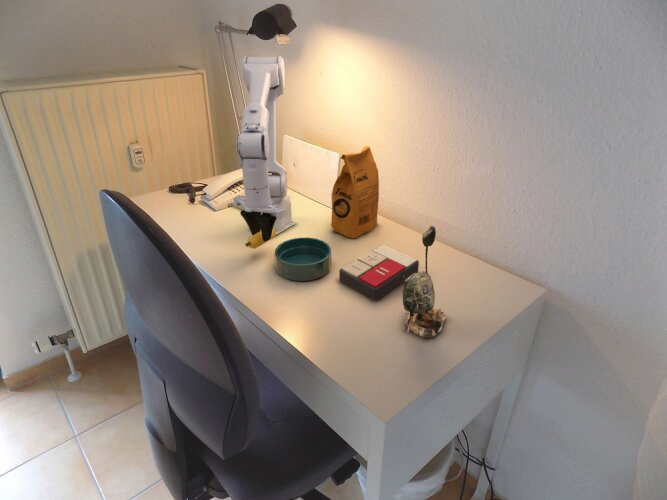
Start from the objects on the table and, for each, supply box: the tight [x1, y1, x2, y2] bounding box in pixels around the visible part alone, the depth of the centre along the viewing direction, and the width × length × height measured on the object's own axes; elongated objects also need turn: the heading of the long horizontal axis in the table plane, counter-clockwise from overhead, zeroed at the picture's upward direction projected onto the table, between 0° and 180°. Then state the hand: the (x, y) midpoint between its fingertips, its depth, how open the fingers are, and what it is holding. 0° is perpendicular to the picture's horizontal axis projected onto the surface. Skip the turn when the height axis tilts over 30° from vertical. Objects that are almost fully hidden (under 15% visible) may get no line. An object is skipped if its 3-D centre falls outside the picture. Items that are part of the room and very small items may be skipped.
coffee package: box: [330, 145, 380, 239], centre depth 115 cm, size 10×12×22 cm
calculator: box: [338, 244, 420, 302], centre depth 97 cm, size 11×4×15 cm
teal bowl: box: [274, 236, 332, 282], centre depth 101 cm, size 13×13×4 cm
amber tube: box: [244, 229, 276, 249], centre depth 105 cm, size 10×3×3 cm, turn 145°
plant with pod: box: [402, 225, 447, 339], centre depth 79 cm, size 8×11×20 cm
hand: (261, 237), depth 105 cm, fingers closed on amber tube, 3 cm apart
